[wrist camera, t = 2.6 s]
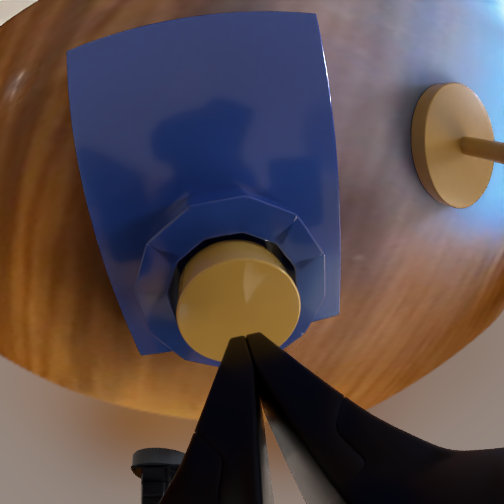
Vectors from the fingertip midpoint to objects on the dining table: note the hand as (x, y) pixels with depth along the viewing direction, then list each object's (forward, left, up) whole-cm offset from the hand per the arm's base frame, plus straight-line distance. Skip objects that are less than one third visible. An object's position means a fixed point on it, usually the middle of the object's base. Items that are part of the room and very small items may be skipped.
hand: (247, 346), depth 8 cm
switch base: (+4, 0, -7) cm, 8 cm away
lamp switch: (0, 0, -3) cm, 3 cm away
